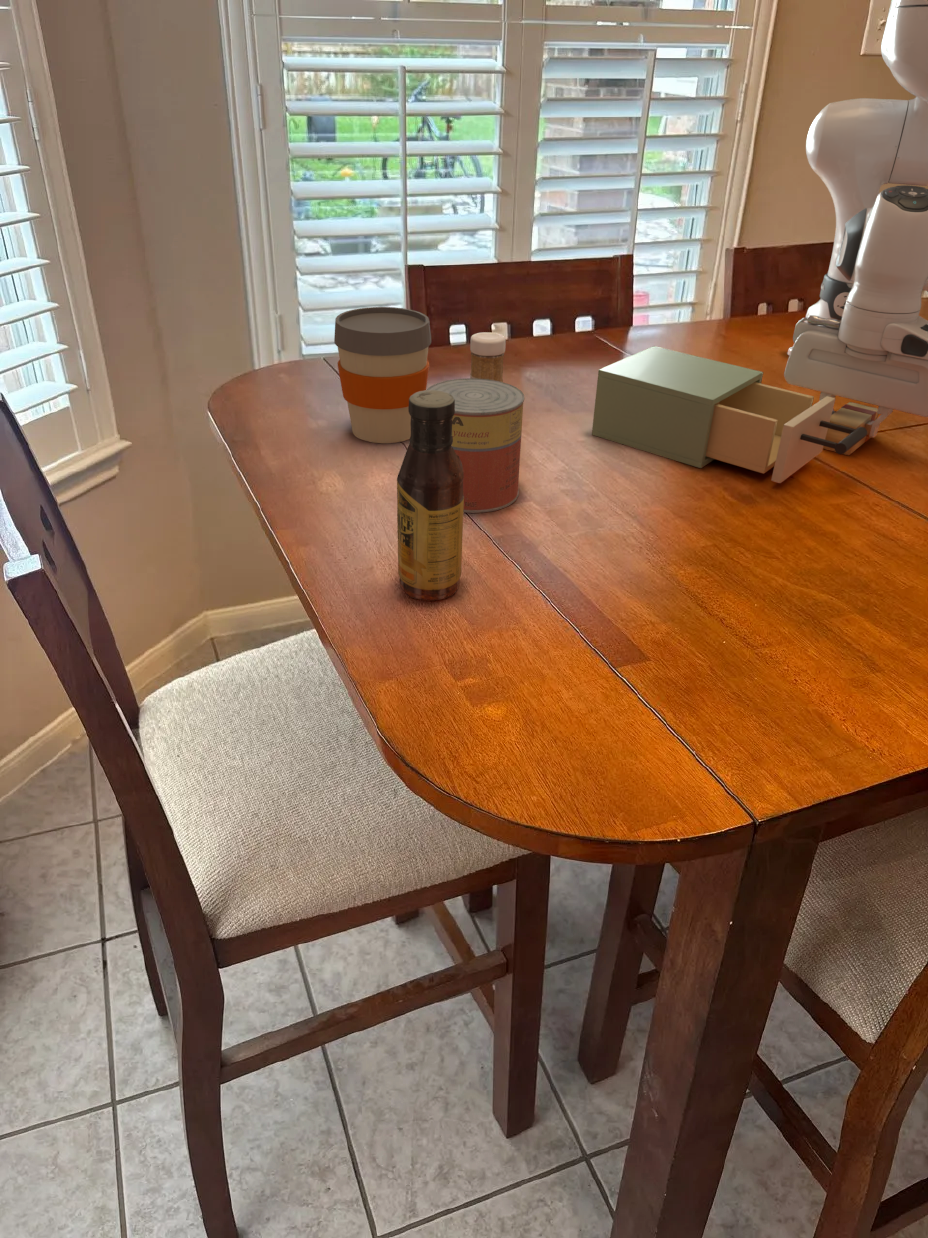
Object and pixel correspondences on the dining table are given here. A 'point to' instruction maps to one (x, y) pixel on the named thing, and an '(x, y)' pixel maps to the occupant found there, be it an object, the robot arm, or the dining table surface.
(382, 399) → the reusable coffee cup
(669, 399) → the cabinet
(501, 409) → the canned food
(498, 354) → the sprinkles bottle
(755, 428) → the drawer
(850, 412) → the tan and red block
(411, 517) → the sauce bottle
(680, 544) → the dining table surface
